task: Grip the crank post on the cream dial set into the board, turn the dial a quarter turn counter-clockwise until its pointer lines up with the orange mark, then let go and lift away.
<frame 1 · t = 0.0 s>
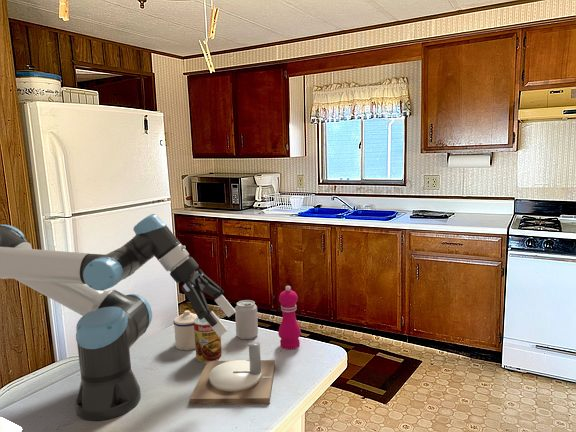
hand: (228, 323, 118), 15 cm above the table, tool tilted 35°, fingers open, 13 cm apart
dial: (234, 361, 115), point 6 cm above the table, hinge at 0.0°
dial board: (236, 383, 116), on the table
pepper mill: (290, 346, 138), on the table
can: (247, 336, 147), on the table
canned food: (209, 357, 132), on the table
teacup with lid: (189, 343, 143), on the table
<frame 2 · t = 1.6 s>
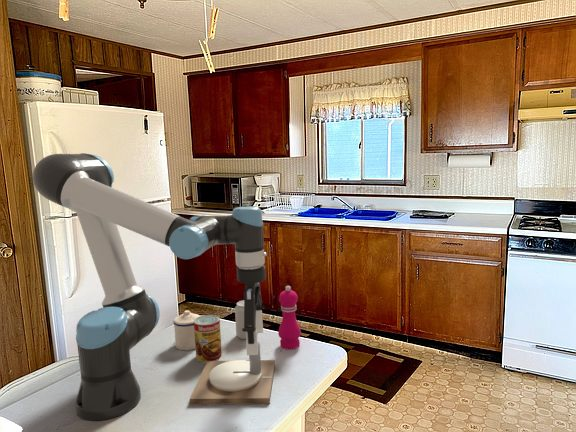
hand: (255, 342, 114), 11 cm above the table, tool pointing down, fingers open, 13 cm apart
nothing on the table moved.
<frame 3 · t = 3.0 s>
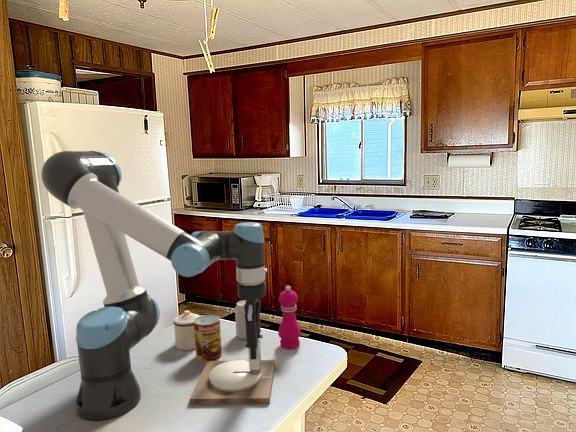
hand: (255, 365, 115), 5 cm above the table, tool pointing down, fingers closed on dial, 3 cm apart
dial: (234, 361, 115), point 6 cm above the table, hinge at 0.0°, touching gripper
everything else where it was.
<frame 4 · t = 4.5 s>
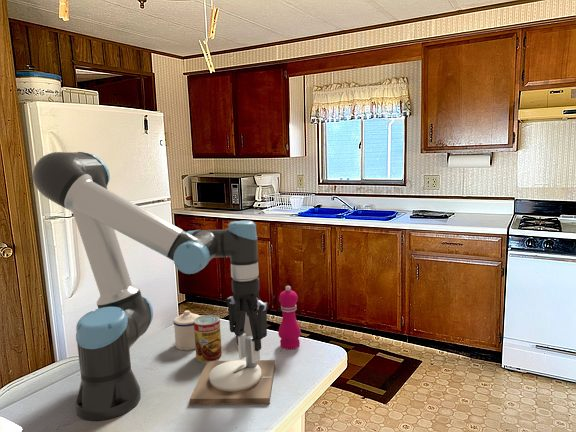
hand: (249, 358, 119), 5 cm above the table, tool pointing down, fingers open, 4 cm apart
dial: (234, 361, 115), point 6 cm above the table, hinge at 44.1°, touching gripper
everything else where it was.
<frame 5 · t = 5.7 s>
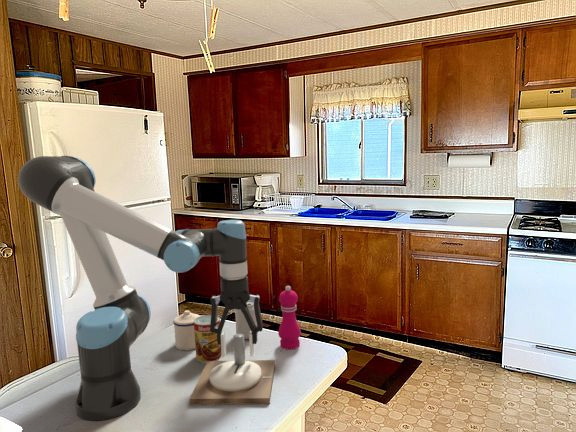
hand: (238, 354, 121), 6 cm above the table, tool pointing down, fingers open, 7 cm apart
dial: (234, 361, 115), point 6 cm above the table, hinge at 85.5°
everything else where it was.
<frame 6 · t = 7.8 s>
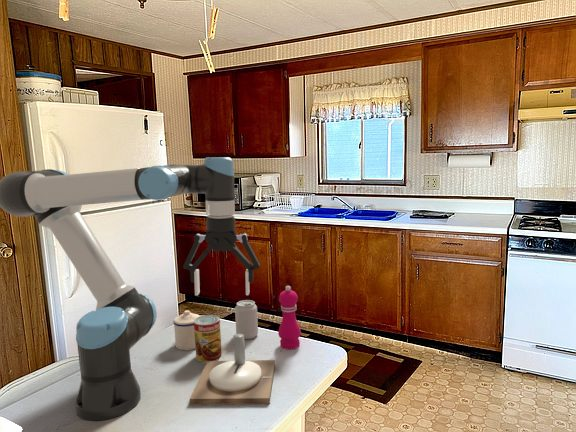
hand: (222, 293, 115), 24 cm above the table, tool pointing down, fingers open, 13 cm apart
nothing on the table moved.
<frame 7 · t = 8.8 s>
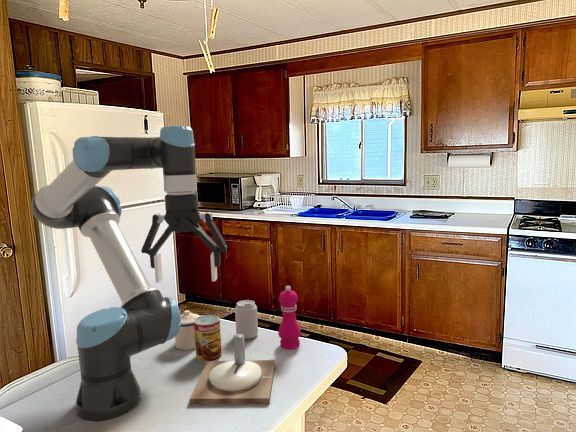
hand: (186, 280, 103), 32 cm above the table, tool pointing down, fingers open, 13 cm apart
nothing on the table moved.
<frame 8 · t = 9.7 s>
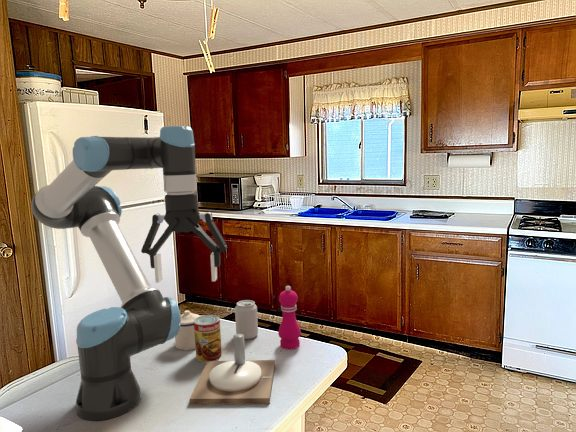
hand: (186, 280, 103), 32 cm above the table, tool pointing down, fingers open, 13 cm apart
nothing on the table moved.
at the end: dial at +86° (first picture: +0°); the gripper is holding nothing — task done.
